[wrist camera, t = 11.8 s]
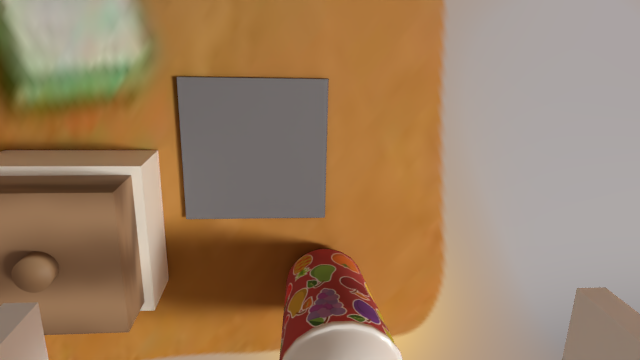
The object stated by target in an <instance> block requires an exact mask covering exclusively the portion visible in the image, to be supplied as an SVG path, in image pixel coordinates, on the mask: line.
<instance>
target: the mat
mask: <svg viewBox="0 0 640 360" xmlns="http://www.w3.org/2000/svg"><path fill="white" fill-rule="evenodd" d="M177 89H178V104H179V119H180V134H181V148H182V163H183V178H184V192H185V207H186V219H236V218H322V217H325V190H326V151H327V113H328V79H305V78H237V77H177Z"/></svg>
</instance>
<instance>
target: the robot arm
mask: <svg viewBox="0 0 640 360" xmlns="http://www.w3.org/2000/svg"><path fill="white" fill-rule="evenodd" d="M0 360H48V354H47V349H46V343H45V338H44V332H43V326H42V321H41V315H40V310H39V304H38V302H35V303H3V304H2V305H1V306H0ZM562 360H640V314H639V313H638V312H636V311H635V310H634V309H632V308H631V307H630V306H629V305H627V304H626V303H625V302H623V301H622V300H621V299H619V298H618V297H617V296H616V295H614V294H613V293H612V292H610V291H609V290H608V289H606V288H577V291H576V295H575V301H574V305H573V311H572V315H571V320H570V325H569V329H568V334H567V339H566V344H565V349H564V353H563V358H562Z"/></svg>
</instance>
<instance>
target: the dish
mask: <svg viewBox="0 0 640 360" xmlns="http://www.w3.org/2000/svg"><path fill="white" fill-rule="evenodd" d="M60 175H131V177H132V186H133V196H134V206H135V215H136V225H137V235H138V244H139V254H140V263H141V273H142V283H143V292H144V304H143V306H142V308H141V309H140V311H153V310H155V309H156V306H157V304H158V302H159V300H160V298H161V295H162V293H163V291H164V289H165V287H166V284H167V282H168V280H169V276H168V264H167V252H166V240H165V228H164V216H163V204H162V192H161V180H160V168H159V156H158V150H4V151H2V152H0V176H60Z"/></svg>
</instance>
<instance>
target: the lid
mask: <svg viewBox="0 0 640 360" xmlns="http://www.w3.org/2000/svg"><path fill="white" fill-rule="evenodd" d="M35 302H38V304H39V310H40V315H41V321H42V326H43V332H44V335H59V334H89V333H119V332H129V331H130V329H131V327H132V325H133V323H134V321H135V319H136V317H137V315H138V313H139V311H140V309H141V308H142V306H143V304H144V292H143V283H142V273H141V263H140V254H139V244H138V235H137V225H136V215H135V206H134V196H133V186H132V177H131V175H60V176H0V306H1V305H2V304H3V303H35Z"/></svg>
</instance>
